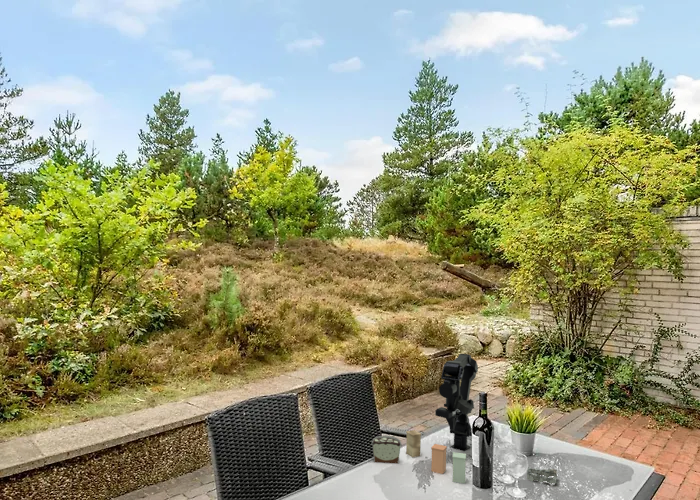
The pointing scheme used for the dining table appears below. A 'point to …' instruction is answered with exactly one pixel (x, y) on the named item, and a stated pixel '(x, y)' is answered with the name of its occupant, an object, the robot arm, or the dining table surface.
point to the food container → (386, 449)
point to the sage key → (459, 467)
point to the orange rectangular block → (438, 458)
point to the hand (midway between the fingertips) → (452, 429)
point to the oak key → (413, 443)
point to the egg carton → (544, 472)
